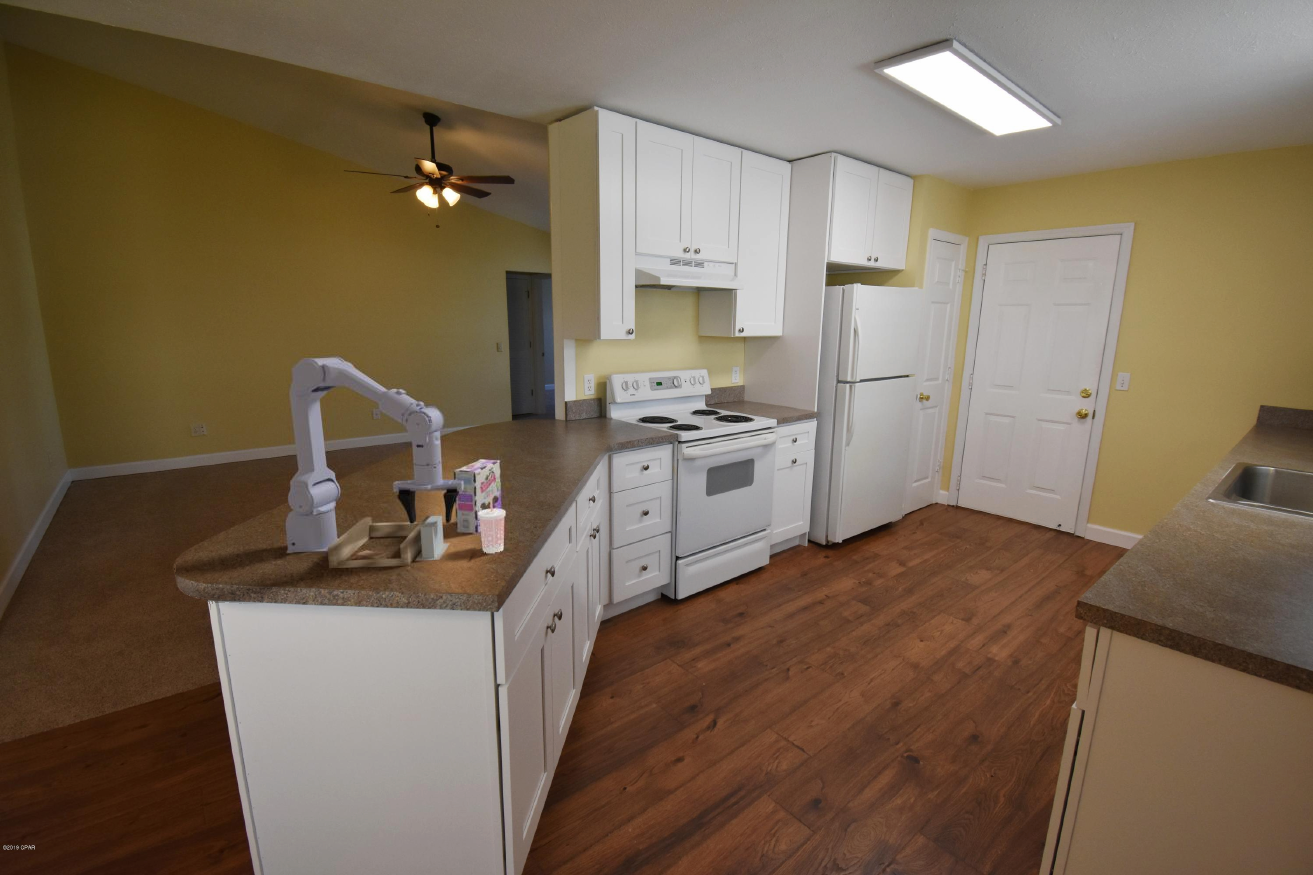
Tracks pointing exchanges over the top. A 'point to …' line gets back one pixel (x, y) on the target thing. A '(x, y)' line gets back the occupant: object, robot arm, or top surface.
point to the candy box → (477, 493)
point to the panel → (432, 536)
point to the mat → (436, 555)
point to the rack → (368, 529)
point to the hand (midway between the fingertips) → (430, 521)
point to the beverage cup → (492, 528)
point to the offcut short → (370, 555)
